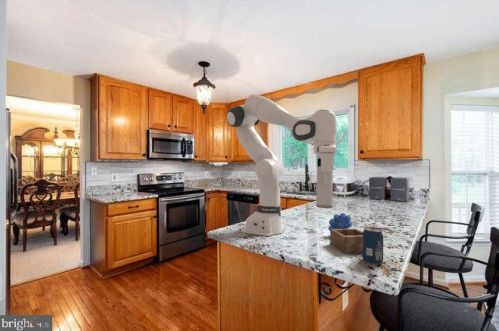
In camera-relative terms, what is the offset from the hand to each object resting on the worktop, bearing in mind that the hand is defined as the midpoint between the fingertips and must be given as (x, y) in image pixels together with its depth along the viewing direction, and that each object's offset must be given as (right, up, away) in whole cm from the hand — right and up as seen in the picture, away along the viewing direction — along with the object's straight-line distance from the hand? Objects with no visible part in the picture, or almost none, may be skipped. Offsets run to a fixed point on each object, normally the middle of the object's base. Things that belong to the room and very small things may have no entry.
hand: (324, 183), depth 96 cm
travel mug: (0, -10, 0) cm, 10 cm away
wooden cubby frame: (+13, -29, +5) cm, 32 cm away
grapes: (+15, -29, +23) cm, 40 cm away
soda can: (+15, -29, -9) cm, 34 cm away
